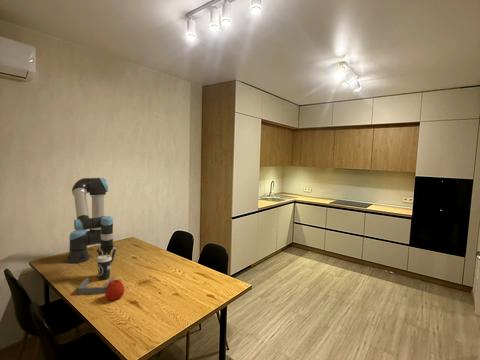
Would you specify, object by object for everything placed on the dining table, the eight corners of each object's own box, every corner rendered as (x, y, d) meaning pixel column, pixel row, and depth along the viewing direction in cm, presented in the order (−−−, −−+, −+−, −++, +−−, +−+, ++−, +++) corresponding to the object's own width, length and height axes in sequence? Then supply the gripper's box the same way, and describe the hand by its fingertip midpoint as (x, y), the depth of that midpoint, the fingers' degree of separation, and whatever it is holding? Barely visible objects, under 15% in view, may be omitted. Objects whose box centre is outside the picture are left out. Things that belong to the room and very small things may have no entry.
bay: (87, 282, 170) (86, 277, 170) (113, 282, 172) (113, 277, 172) (76, 294, 156) (76, 288, 156) (105, 293, 158) (105, 287, 158)
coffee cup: (106, 281, 172) (106, 259, 171) (93, 280, 173) (92, 258, 172) (114, 275, 182) (115, 254, 181) (102, 274, 183) (102, 253, 182)
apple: (111, 304, 147) (111, 286, 146) (101, 298, 152) (101, 281, 152) (127, 296, 156) (127, 279, 155) (117, 291, 161) (117, 275, 160)
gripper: (94, 240, 176) (94, 274, 178) (115, 240, 178) (115, 274, 180) (98, 237, 183) (99, 269, 185) (118, 237, 185) (118, 269, 187)
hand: (106, 271), depth 182 cm, fingers closed
